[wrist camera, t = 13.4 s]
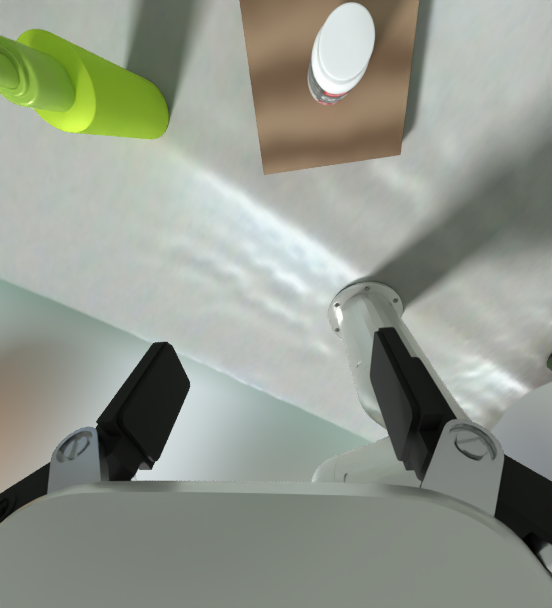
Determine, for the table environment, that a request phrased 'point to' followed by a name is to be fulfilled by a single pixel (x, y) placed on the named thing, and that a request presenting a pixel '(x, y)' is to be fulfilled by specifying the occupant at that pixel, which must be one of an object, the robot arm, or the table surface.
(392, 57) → the stand
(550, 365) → the character mug
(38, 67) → the soap dispenser
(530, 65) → the table surface
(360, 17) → the pill bottle
